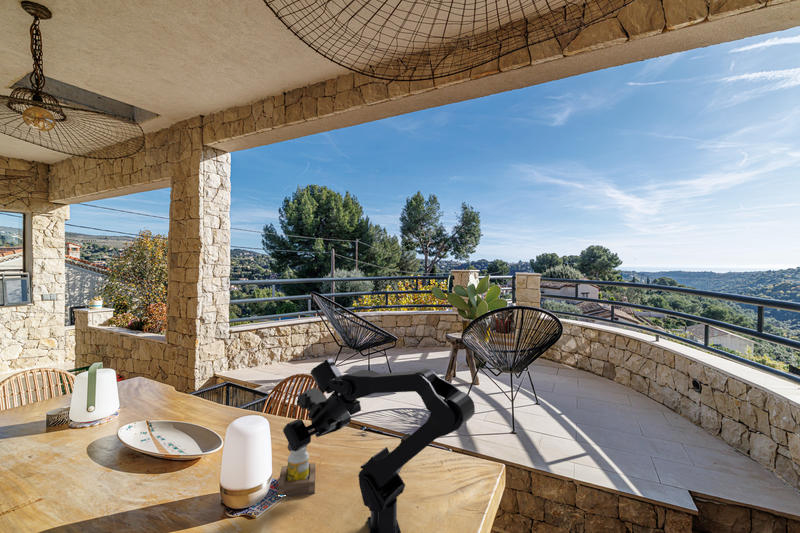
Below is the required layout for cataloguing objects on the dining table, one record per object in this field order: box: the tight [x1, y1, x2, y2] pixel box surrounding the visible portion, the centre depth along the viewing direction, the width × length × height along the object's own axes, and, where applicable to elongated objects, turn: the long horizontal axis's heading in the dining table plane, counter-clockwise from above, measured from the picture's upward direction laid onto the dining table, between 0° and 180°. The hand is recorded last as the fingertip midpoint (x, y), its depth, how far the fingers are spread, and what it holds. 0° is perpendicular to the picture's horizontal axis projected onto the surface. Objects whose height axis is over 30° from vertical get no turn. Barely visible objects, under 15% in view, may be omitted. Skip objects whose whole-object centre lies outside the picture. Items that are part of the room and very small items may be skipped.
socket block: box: [276, 462, 316, 498], centre depth 91 cm, size 9×9×3 cm
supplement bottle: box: [287, 446, 310, 481], centre depth 91 cm, size 5×5×10 cm
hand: (303, 441), depth 90 cm, fingers open, 9 cm apart
